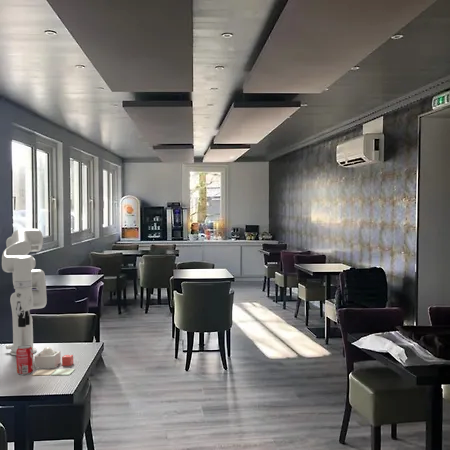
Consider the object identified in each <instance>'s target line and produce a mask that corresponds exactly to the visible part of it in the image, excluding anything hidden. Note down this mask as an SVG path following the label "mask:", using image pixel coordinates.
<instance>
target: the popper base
mask: <svg viewBox="0 0 450 450" xmlns="http://www.w3.org/2000/svg"><path fill="white" fill-rule="evenodd" d="M42 351H43V350H42ZM42 351H40V352H42ZM54 351H55V354H54V355H53V356H40V352H38V353H37V354H36V355H34V369H55V368H56V367H57V366H58V365H60V364H62V355H61V350H60V351H59V350H54Z"/></svg>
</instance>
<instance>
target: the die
mask: <svg viewBox="0 0 450 450" xmlns="http://www.w3.org/2000/svg"><path fill="white" fill-rule="evenodd" d="M73 364H74V355H73V354H65V355H63V356H61V366H62V367H66V366H67V367H69V366H71V367H72V365H73Z"/></svg>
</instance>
